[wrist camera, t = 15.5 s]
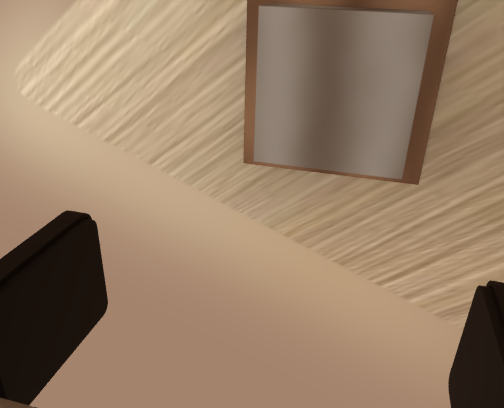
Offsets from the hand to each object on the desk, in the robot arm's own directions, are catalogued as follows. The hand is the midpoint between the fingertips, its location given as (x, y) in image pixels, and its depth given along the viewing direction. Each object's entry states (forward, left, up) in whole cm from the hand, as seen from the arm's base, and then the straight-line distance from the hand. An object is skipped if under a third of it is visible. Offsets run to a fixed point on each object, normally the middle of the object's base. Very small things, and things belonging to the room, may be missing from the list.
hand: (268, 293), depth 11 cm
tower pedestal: (0, 0, -25) cm, 25 cm away
